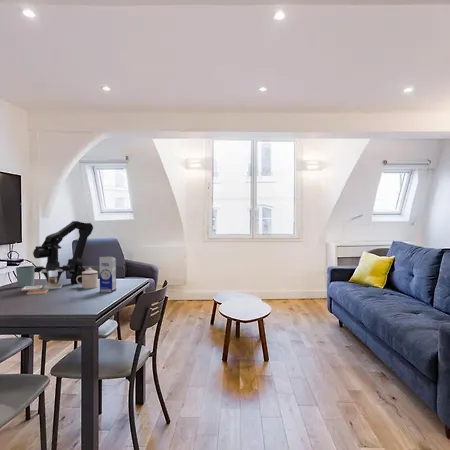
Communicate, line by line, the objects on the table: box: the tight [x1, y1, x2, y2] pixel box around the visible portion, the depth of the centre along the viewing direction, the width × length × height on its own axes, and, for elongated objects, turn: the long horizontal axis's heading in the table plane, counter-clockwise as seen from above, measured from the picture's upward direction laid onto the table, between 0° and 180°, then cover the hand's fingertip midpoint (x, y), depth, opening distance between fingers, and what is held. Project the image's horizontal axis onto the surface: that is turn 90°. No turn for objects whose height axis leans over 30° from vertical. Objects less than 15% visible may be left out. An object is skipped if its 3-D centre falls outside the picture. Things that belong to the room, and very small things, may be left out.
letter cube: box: [47, 275, 59, 286], centre depth 202 cm, size 4×5×5 cm
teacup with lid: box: [76, 267, 99, 290], centre depth 204 cm, size 12×9×12 cm
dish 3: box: [42, 283, 64, 290], centre depth 202 cm, size 9×9×1 cm
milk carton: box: [98, 255, 117, 294], centre depth 192 cm, size 7×7×20 cm
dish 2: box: [26, 288, 50, 296], centre depth 188 cm, size 9×9×1 cm
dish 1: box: [21, 284, 43, 292], centre depth 198 cm, size 9×9×1 cm
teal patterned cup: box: [15, 265, 36, 288], centre depth 208 cm, size 10×10×12 cm
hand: (53, 283), depth 202 cm, fingers closed on letter cube, 4 cm apart
